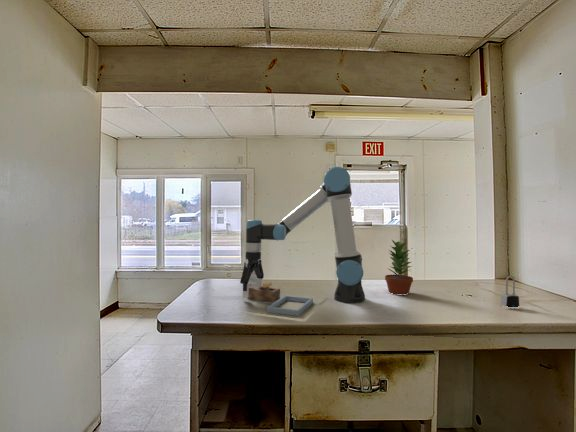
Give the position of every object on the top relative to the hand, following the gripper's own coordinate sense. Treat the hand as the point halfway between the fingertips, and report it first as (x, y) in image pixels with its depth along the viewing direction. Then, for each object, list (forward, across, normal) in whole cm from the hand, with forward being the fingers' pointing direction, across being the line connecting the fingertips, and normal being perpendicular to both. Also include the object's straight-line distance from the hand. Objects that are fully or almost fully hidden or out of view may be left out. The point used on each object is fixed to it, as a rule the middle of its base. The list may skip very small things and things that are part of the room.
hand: (252, 294), depth 154 cm
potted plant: (+2, -45, +67) cm, 81 cm away
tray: (+2, +7, +23) cm, 24 cm away
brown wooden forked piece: (+2, 0, +5) cm, 6 cm away
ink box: (+3, -17, -8) cm, 19 cm away
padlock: (+1, -36, +116) cm, 121 cm away
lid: (+3, 0, +8) cm, 9 cm away
